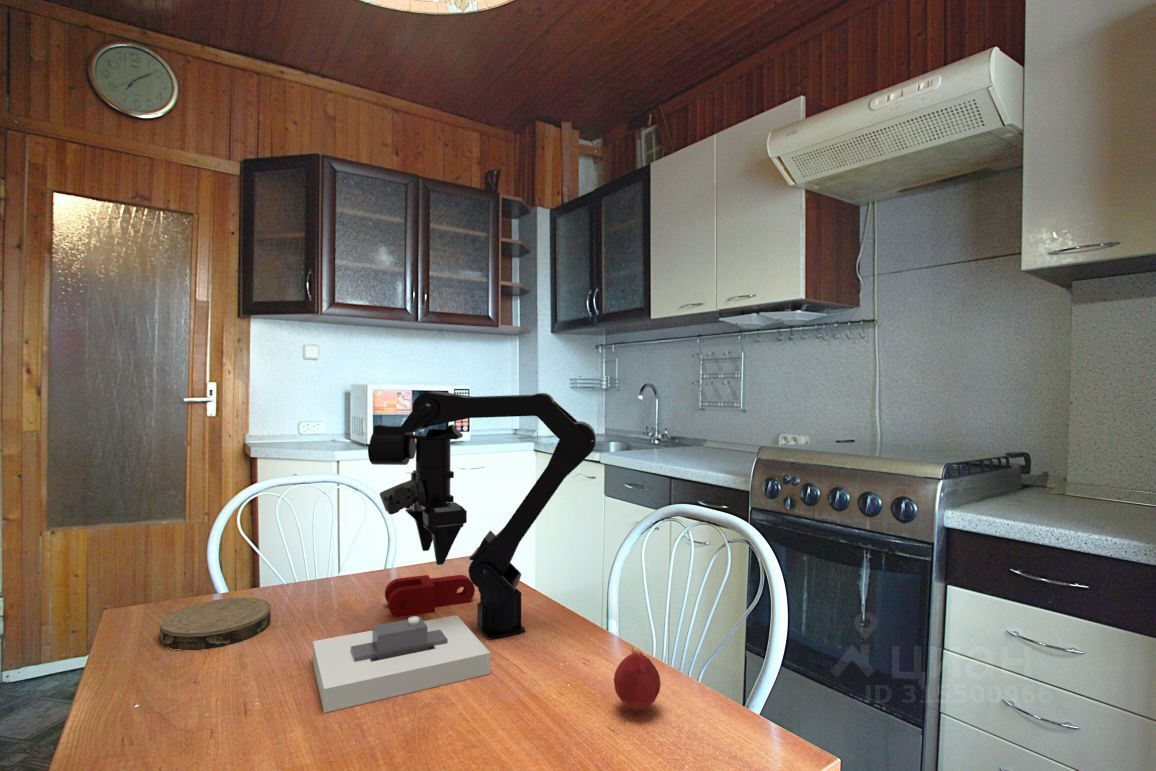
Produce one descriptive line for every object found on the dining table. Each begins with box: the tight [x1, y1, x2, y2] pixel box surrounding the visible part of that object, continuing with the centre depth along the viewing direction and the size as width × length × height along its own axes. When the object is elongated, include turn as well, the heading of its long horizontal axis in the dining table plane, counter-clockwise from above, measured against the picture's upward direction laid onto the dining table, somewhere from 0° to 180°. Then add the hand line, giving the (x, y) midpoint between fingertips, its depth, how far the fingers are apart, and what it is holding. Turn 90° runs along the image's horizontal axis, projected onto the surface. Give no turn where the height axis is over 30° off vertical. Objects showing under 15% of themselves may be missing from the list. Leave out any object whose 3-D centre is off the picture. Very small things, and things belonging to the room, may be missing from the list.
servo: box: [351, 615, 448, 662], centre depth 88 cm, size 13×4×7 cm, turn 118°
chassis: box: [312, 615, 491, 714], centre depth 88 cm, size 22×16×3 cm
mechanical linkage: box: [384, 574, 476, 618], centre depth 113 cm, size 16×7×5 cm, turn 114°
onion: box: [613, 646, 661, 713], centre depth 76 cm, size 6×6×8 cm
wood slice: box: [159, 596, 272, 651], centre depth 101 cm, size 16×16×3 cm
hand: (432, 557), depth 102 cm, fingers open, 9 cm apart
